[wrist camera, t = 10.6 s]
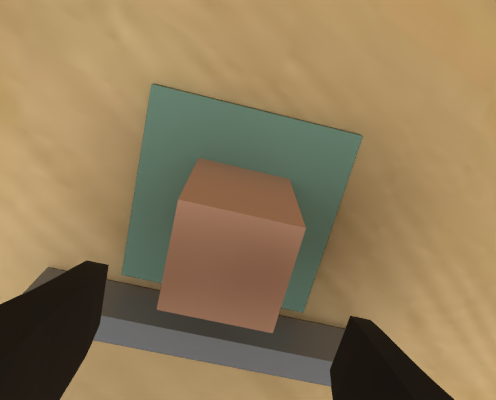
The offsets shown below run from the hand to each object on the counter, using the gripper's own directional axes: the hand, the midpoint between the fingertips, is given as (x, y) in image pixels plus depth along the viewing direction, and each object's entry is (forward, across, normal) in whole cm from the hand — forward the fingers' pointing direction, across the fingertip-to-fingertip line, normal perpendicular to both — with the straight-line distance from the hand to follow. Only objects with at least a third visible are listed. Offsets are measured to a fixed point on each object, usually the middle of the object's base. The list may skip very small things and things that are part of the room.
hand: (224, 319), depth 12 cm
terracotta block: (+9, 0, 0) cm, 9 cm away
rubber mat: (+9, 0, 0) cm, 9 cm away
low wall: (+9, 0, +6) cm, 11 cm away
